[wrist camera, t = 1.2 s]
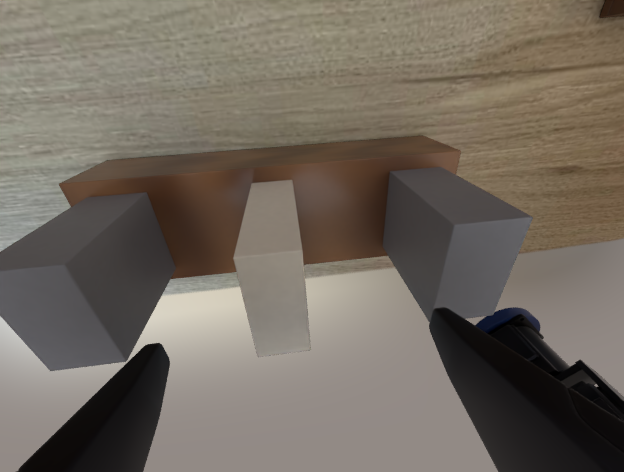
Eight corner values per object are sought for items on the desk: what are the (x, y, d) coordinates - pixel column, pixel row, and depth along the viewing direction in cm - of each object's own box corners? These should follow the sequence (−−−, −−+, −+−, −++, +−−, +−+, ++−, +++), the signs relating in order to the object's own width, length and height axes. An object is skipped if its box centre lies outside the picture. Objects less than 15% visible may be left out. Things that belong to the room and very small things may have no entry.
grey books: (441, 166, 15) (534, 217, 10) (426, 241, 18) (493, 315, 12) (86, 196, 14) (-38, 275, 8) (126, 273, 16) (50, 371, 11)
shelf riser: (423, 135, 19) (461, 150, 15) (410, 220, 22) (438, 250, 18) (107, 160, 17) (57, 183, 13) (144, 246, 21) (114, 285, 17)
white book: (292, 179, 15) (302, 250, 9) (299, 255, 17) (311, 350, 11) (251, 182, 14) (232, 257, 8) (264, 259, 17) (257, 357, 11)
